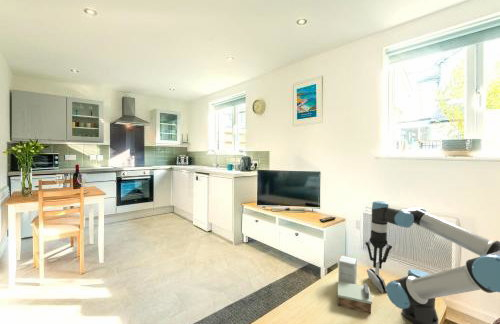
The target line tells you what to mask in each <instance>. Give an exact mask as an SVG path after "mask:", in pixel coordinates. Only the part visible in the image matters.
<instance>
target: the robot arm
mask: <svg viewBox="0 0 500 324" xmlns="http://www.w3.org/2000/svg"><path fill="white" fill-rule="evenodd" d="M370 222H371V224H370V226H371V228H370V229H371V230H370V237H369V240H365V242H364V244H365V245H366V247H367V251H368V256H369V260H370V261H372V263H373V264H372V268H373V269H375V274H376V275H379V274H380V269H382V265H383V263H386V262H387V259H388V257H389V253H390V251H391V250H392V249H393V246H392V244H390V243H389V242H388V238H387V237H388V224H392V225H396V226H398V227H400V228H401V227H402V228H407V229H408V228H411V226H412V225H413V224H415V225H417V226H419V227H421V228H424V229H425V230H427V231H430V232H431V233H433V234H435V235H438V236H439V237H442V238H443V239H445V240H447V241H449V242H451V243H454V244H456V245H457V246H460V247H461V248H463V249H465V250H467V251H470V252H471V253H473V254H475V255H477V256H478V257H474V258H471V259H467V260H466V261H465V264H464V265H462V266H458V267H455V268H454V267H453V268H450V269H447V270H443V271H439V272H436V273H431V274H430V273H428V272H425V271H423V270H419V269H415V268H414V269H413V268H410V269H408V271H407V276H404V277H402V278H398V279H394V280H391V281H390V282H388V283H387V284H386V288H387V289H386V291H385V292H386V295H387V297H388V299H389V301H390V302H391V303H392V304H393V305H395V307H397V308H398V309H400V310H401V313H402V315H403V317H404V318H405V319H407V320H408V321H409V322H410V323H412V324H439V316H438V313H437V311H436V308H435V307H436V306H435V305H436V298H440V297H441V298H442V297H447V296H451V295H452V296H454V295H457V294H463V293H469V292H474V291H483V292H484V293H487V294H491V293H500V241H499V240H490V239H488V238H485V237H483V236H481V235H478V234H477V233H474V232H473V231H469V230H467V229H465V228H463V227H461V226H458V225H456V224H453V223H451V222H449V221H447V220H444V219H442V218H440V217H437V216H435V215H433V214H430V213H429V212H427V211H426V209H425V208H423V207H420V206H412V207H408V208H400V209H396V208H392V207H390V206H389V203H388V202H387V201H380V200H374V201H373V202H372V204H371V221H370ZM370 246H373V255H372V250H371V247H370ZM384 248H385V251H384V254H383V249H384ZM377 254H378V255H377ZM377 257H378V259H377Z"/></svg>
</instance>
